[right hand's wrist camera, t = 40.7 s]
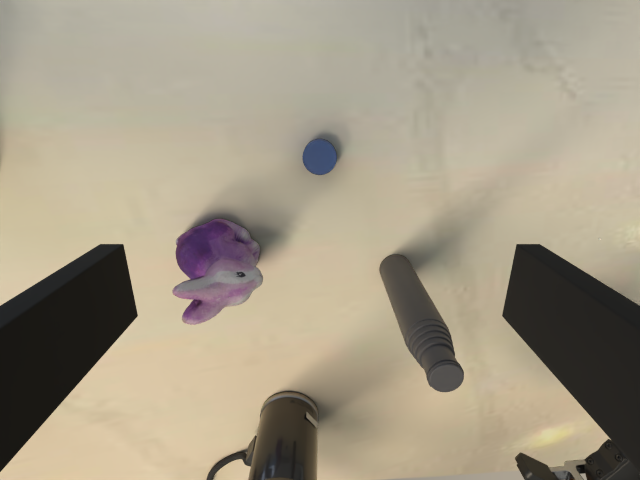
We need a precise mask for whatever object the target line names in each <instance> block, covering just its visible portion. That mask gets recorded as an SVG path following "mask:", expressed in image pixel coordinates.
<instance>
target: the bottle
mask: <svg viewBox="0 0 640 480" xmlns="http://www.w3.org/2000/svg"><path fill="white" fill-rule="evenodd" d="M380 275H381V277H382V280H383V283H384V286H385V288H386V291H387V294H388V297H389V299H390V302H391V305H392V308H393V310H394V313H395V316H396V318H397V321H398V324H399V327H400V329H401V332H402V335H403V338H404V340H405V343H406V346H407V347H408V349H409V351H410V353H411V354H412V355H413V357H414V358H415V359H416V360H417V362H418V363H419V364H420V366H421V367H422V368H423V369H424V370H425V373H426V375H427V380H428V383H429V385H430V387H431V386H432V387H433V388H434V389H435V390H437V391H440V392H450V391H453V390H455V389H457V388H458V387H459V386H460V385H461V384H462V382H463V379H464V372H463V369H462V368H461V366H460V364H459V363H458V362H457V360H456V359H455V352H454V347H453V343H452V339H451V335H450V332H449V329H448V327H447V326H446V324H445V322H444V321H443V319H442V317H441V315H440V314H439V312H438V310H437V309H436V307H435V305H434V303H433V302H432V300H431V298H430V297H429V295H428V293H427V291H426V290H425V288H424V286H423V285H422V283H421V281H420V279H419V278H418V276H417V274H416V273H415V271H414V269H413V267H412V266H411V264H410V262H409V261H408V259H407V258H405V257H404V256H402V255H391V256H388V257H386V258H385V259H384V260H383V261H382V263H381V265H380Z"/></svg>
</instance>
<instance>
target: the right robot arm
mask: <svg viewBox="0 0 640 480" xmlns="http://www.w3.org/2000/svg"><path fill="white" fill-rule="evenodd" d="M137 316H138V315H137V310H136V305H135V300H134V295H133V290H132V285H131V280H130V275H129V270H128V265H127V260H126V255H125V250H124V245H123V244H100V245H98V246H97V247H95V248H94V249H92V250H90V251H89V252H87V253H85V254H84V255H82V256H81V257H79V258H77V259H76V260H74V261H72V262H71V263H69V264H68V265H66V266H64V267H63V268H61V269H59V270H58V271H56V272H55V273H53V274H51V275H50V276H48V277H46V278H45V279H43V280H42V281H40V282H38V283H37V284H35V285H33V286H32V287H30V288H29V289H27V290H25V291H24V292H22V293H20V294H19V295H17V296H16V297H14V298H12V299H11V300H9V301H7V302H6V303H4V304H3V305H1V306H0V472H1V471H2V469H3V468H4V467H5V466H6V465H7V464H8V463H9V461H10V460H11V459H12V458H13V457H14V456H15V455H16V453H17V452H18V451H19V450H20V449H21V448H22V447H23V446H24V444H25V443H26V442H27V441H28V440H29V439H30V438H31V436H32V435H33V434H34V433H35V432H36V431H37V430H38V429H39V427H40V426H41V425H42V424H43V423H44V422H45V421H46V419H47V418H48V417H49V416H50V415H51V414H52V413H53V411H54V410H55V409H56V408H57V407H58V406H59V405H60V404H61V402H62V401H63V400H64V399H65V398H66V397H67V396H68V394H69V393H70V392H71V391H72V390H73V389H74V388H75V387H76V385H77V384H78V383H79V382H80V381H81V380H82V379H83V377H84V376H85V375H86V374H87V373H88V372H89V371H90V370H91V368H92V367H93V366H94V365H95V364H96V363H97V362H98V360H99V359H100V358H101V357H102V356H103V355H104V354H105V352H106V351H107V350H108V349H109V348H110V347H111V346H112V345H113V343H114V342H115V341H116V340H117V339H118V338H119V337H120V335H121V334H122V333H123V332H124V331H125V330H126V329H127V328H128V326H129V325H130V324H131V323H132V322H133V321H134V320H135V318H136V317H137ZM502 316H503V317H504V318H505V320H506V321H507V322H508V323H509V324H510V325H511V326H512V328H513V329H514V330H515V331H516V332H517V333H518V334H519V335H520V337H521V338H522V339H523V340H524V341H525V342H526V343H527V345H528V346H529V347H530V348H531V349H532V350H533V351H534V352H535V354H536V355H537V356H538V357H539V358H540V359H541V360H542V362H543V363H544V364H545V365H546V366H547V367H548V368H549V370H550V371H551V372H552V373H553V374H554V375H555V376H556V377H557V379H558V380H559V381H560V382H561V383H562V384H563V385H564V387H565V388H566V389H567V390H568V391H569V392H570V393H571V394H572V396H573V397H574V398H575V399H576V400H577V401H578V402H579V404H580V405H581V406H582V407H583V408H584V409H585V410H586V411H587V413H588V414H589V415H590V416H591V417H592V418H593V419H594V421H595V422H596V423H597V424H598V425H599V426H600V427H601V429H602V430H603V431H604V432H605V433H606V434H607V435H608V436H609V438H610V439H611V440H612V441H613V442H614V443H615V444H616V446H617V447H618V448H619V449H620V450H621V451H622V452H623V453H624V455H625V456H626V457H627V458H628V459H629V460H630V461H631V463H632V464H633V465H634V466H635V467H636V468H637V469H638V471H639V472H640V306H639V305H637V304H636V303H634V302H633V301H631V300H629V299H628V298H626V297H624V296H623V295H621V294H620V293H618V292H616V291H615V290H613V289H611V288H610V287H608V286H607V285H605V284H603V283H602V282H600V281H598V280H597V279H595V278H594V277H592V276H590V275H589V274H587V273H585V272H584V271H582V270H581V269H579V268H577V267H576V266H574V265H572V264H571V263H569V262H568V261H566V260H564V259H563V258H561V257H559V256H558V255H556V254H555V253H553V252H551V251H550V250H548V249H546V248H545V247H543V246H542V245H540V244H517V245H516V250H515V255H514V260H513V265H512V270H511V275H510V280H509V285H508V290H507V295H506V300H505V305H504V310H503V315H502Z"/></svg>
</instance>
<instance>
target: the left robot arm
mask: <svg viewBox="0 0 640 480" xmlns="http://www.w3.org/2000/svg"><path fill="white" fill-rule="evenodd" d="M317 431H318V410H317V407H316V405H315V404H314V402H313V401H312V400H311V399H310V398H308V397H307V396H305V395H303V394H300V393H296V392H282V393H278V394H275V395H273V396H271V397H270V398H269V399H267V400H266V401H265V403H264V404H263V406H262V409H261V414H260V423H259V428H258V433H257V436H255V437H254V438H253V440H252V441H251V443H250V444H249V447H248V451H247V454H246V453H243V452H239V453H235V454H232V455H230V456H228V457H226V458H224V459H223V460H221V461H220V462H219V463H218V464H216V465H215V466H214V467H213V468H212V469H211V471H210V472H209V474H208V477H207V480H212V479H213V476H214V475H215V473H216V472H217V471H218V470H219V469H220V468H222V467H223V466H225V465H226V464H228V463H229V462H231V461H234V460H237V459H242V460H243V462H244V464H245V465H247V466H251V469H250V474H249V480H317ZM515 460H516V461H517V463H518V464H517V467H518V468H519V470H520V472H521V474H522V476H523V477H524V479H525V480H584V479H583V478H582V477H581V475H580V474H581V473H586V477H587V480H640V472H639V471H638V469H637V468H636V467H635V466H634V465H633V464H632V463H631V461H630V460H629V459H628V458H627V457H626V456H625V455H624V453H623V452H622V451H621V450H620V449H619V448H618V447H617V446H616V444H615V443H614V442H613V441H612V440H610V439H608V440H607V441H606V442H604V443H603V444H602V446H601V447H600V448H599V450H598V451H596V452H594V453H593V454H591V455H589V456H588V457H587V458H586V459H585V460H573V461H566V462H565V463H564V466H561V467H548V466H547V465H546V464H543V463H541V462H539V461H537V460H535V459H533V458H531V457H529V456H527V455H525V454H523V453H519V454H518V455H517V456H516V457H515Z"/></svg>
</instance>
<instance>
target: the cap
mask: <svg viewBox="0 0 640 480" xmlns="http://www.w3.org/2000/svg"><path fill="white" fill-rule="evenodd" d="M336 160H337V155H336V151H335V149H334V147H333V145H332V144H331V143H330V142H328V141H327V140H324V139H316V140H313V141H311V142H310V143H309V144H308V145H307V146H306V147H305V150H304V152H303V163H304V165H305V167H306V168H307V170H309V171H310V172H311V173H313V174H316V175H323V174H326V173H328V172H330V171H331V170H332V169H333V168H334V166H335V164H336Z"/></svg>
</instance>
